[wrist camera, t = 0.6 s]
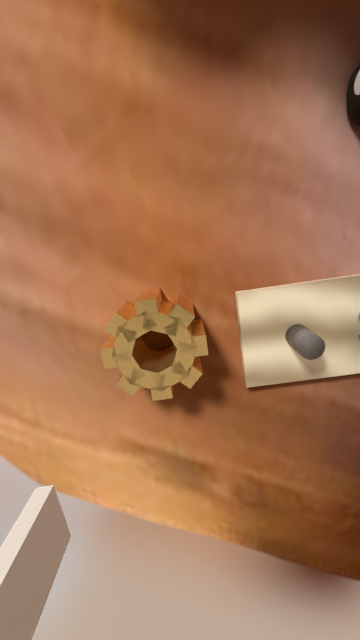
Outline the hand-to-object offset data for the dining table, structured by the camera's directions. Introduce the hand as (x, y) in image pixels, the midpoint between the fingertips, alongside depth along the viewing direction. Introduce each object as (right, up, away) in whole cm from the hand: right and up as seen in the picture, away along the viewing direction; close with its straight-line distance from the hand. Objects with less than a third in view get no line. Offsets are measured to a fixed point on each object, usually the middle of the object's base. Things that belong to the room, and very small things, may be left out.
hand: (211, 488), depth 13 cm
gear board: (+17, +6, +21) cm, 28 cm away
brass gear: (-4, +5, +22) cm, 23 cm away
